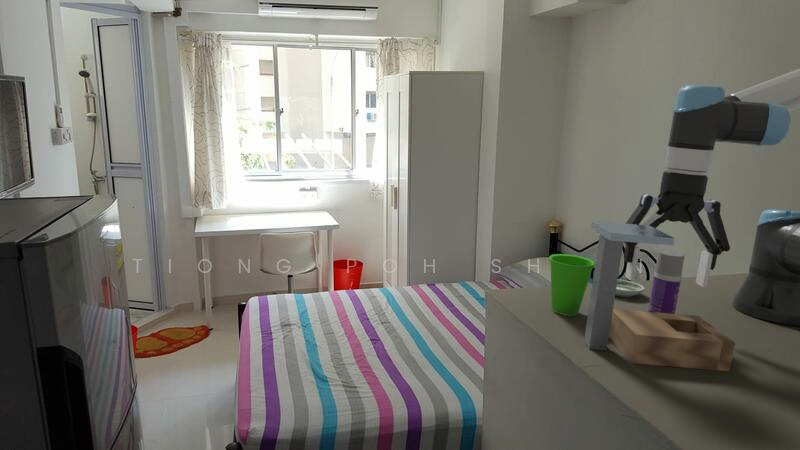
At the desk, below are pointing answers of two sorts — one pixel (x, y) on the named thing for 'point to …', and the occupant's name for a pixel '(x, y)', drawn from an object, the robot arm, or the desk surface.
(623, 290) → the saucer
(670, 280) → the container
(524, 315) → the desk surface
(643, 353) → the socket block
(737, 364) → the desk surface
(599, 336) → the grey flat-topped post
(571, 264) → the cup
